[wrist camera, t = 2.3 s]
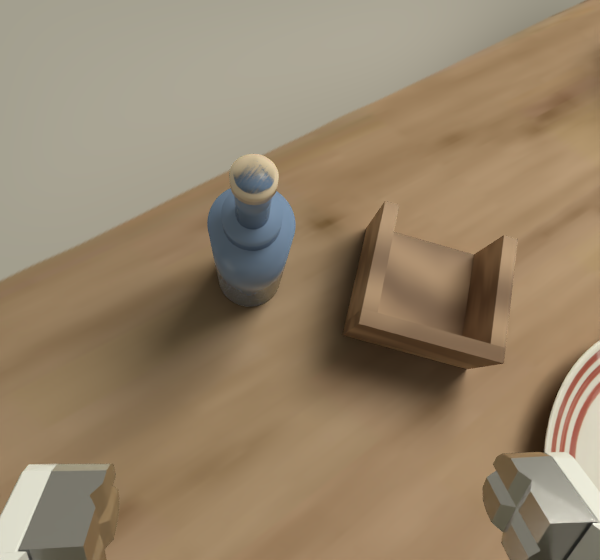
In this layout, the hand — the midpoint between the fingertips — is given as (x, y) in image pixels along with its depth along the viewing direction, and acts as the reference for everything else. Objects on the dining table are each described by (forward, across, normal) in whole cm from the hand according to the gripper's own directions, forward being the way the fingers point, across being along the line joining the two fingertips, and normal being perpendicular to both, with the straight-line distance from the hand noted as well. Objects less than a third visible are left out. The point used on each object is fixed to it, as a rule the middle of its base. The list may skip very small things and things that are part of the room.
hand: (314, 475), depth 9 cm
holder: (+27, -14, +12) cm, 33 cm away
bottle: (+28, +1, +11) cm, 30 cm away
